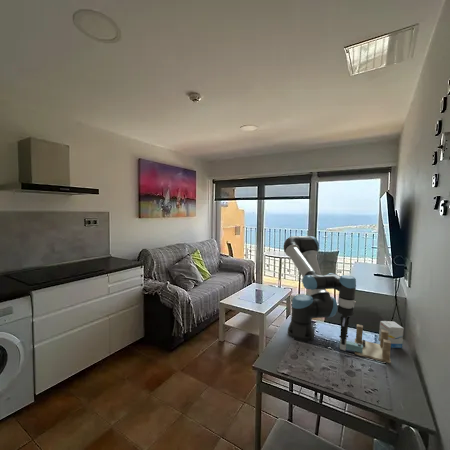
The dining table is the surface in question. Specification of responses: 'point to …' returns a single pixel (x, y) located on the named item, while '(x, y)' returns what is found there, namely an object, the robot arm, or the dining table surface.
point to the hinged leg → (354, 346)
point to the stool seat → (374, 346)
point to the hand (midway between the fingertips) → (342, 349)
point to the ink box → (392, 333)
